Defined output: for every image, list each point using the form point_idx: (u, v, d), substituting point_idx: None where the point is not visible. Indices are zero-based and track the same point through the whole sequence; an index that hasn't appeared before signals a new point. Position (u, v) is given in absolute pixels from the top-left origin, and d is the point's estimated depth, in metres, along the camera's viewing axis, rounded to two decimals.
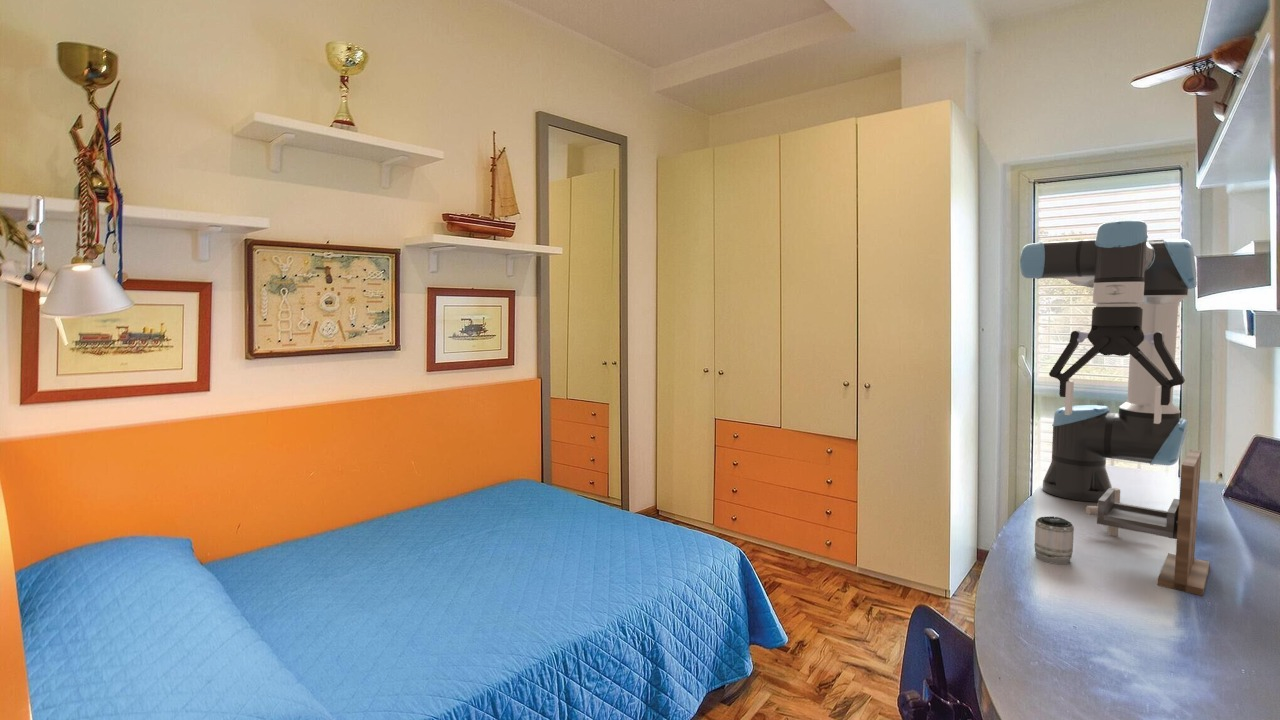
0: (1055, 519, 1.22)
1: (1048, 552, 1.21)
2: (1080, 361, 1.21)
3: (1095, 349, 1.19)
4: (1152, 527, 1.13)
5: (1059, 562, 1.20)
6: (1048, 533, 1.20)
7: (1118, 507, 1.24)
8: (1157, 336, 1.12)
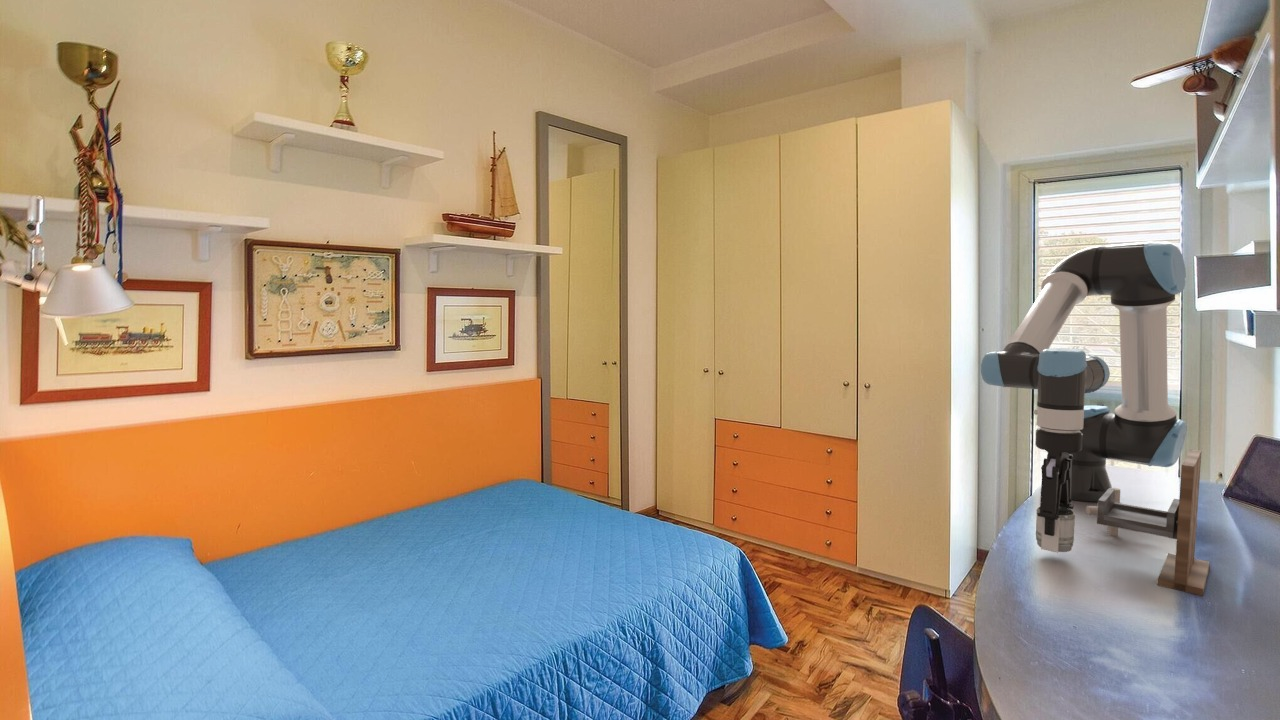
0: None
1: None
2: None
3: None
4: (1152, 527, 1.13)
5: (1060, 550, 1.20)
6: None
7: (1118, 507, 1.24)
8: None
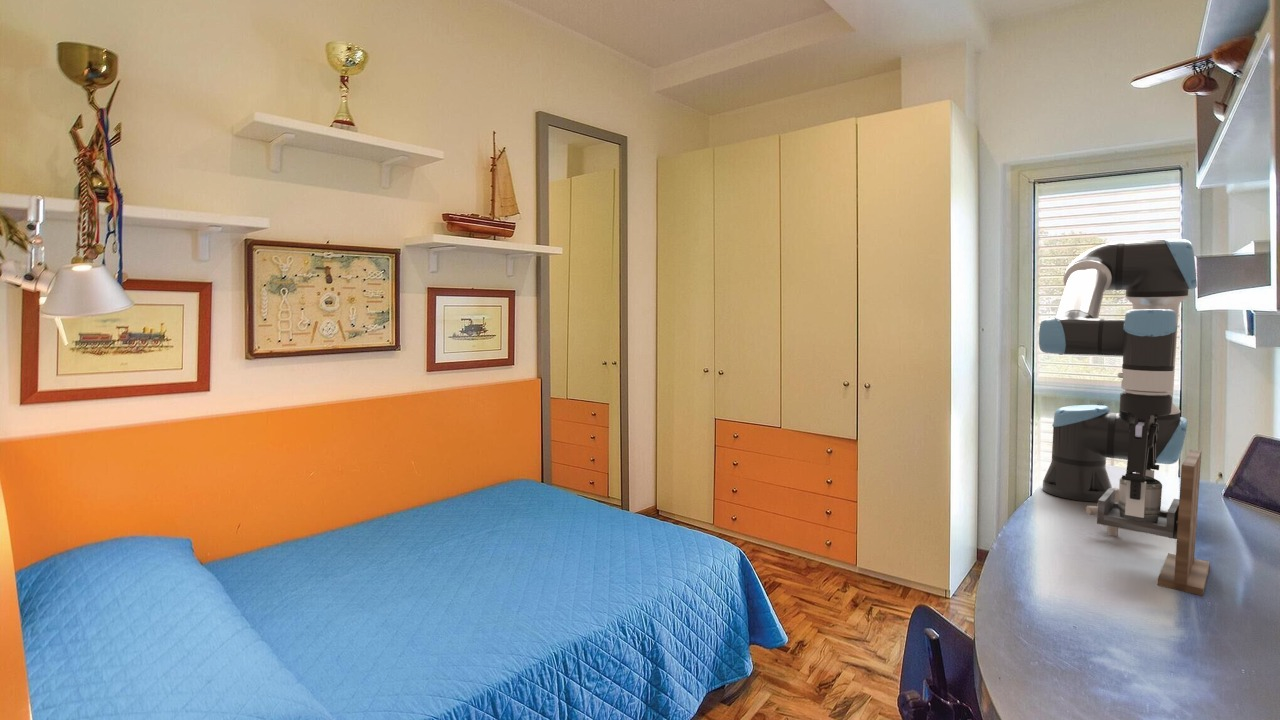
0: None
1: None
2: None
3: None
4: (1152, 527, 1.13)
5: (1147, 520, 1.16)
6: None
7: (1118, 507, 1.24)
8: (1130, 428, 1.14)
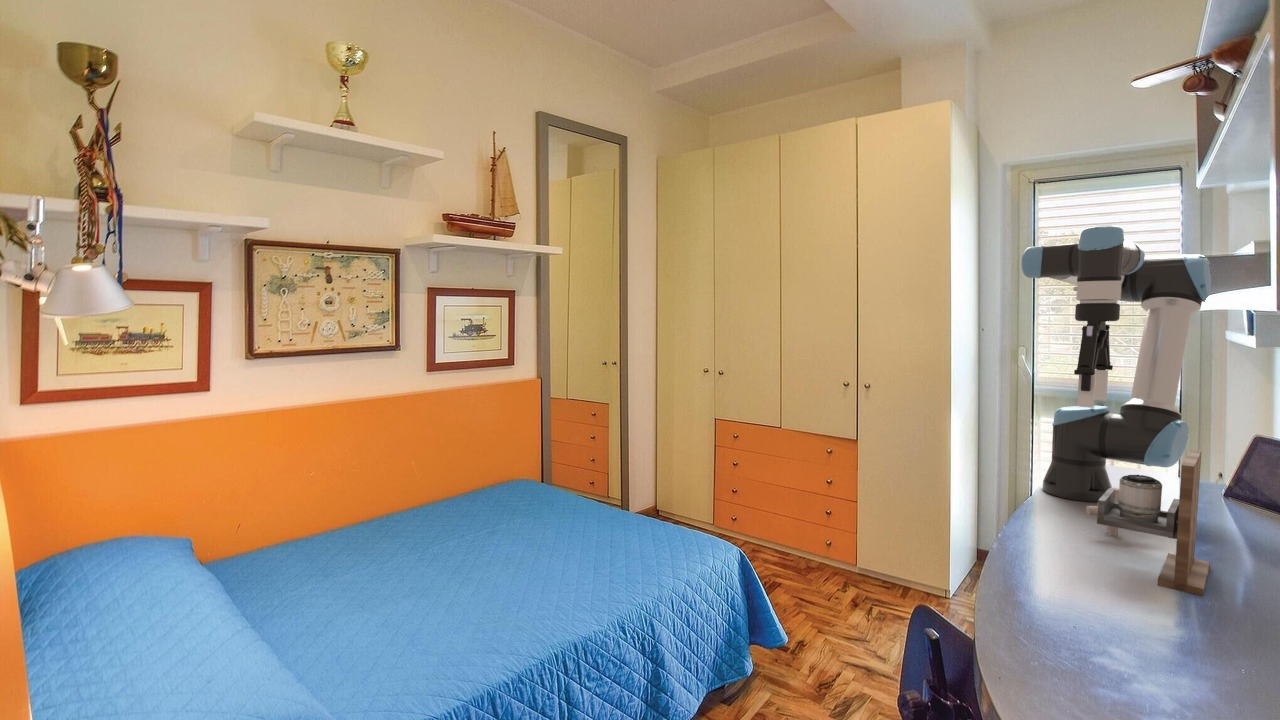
0: (1141, 477, 1.18)
1: (1135, 510, 1.16)
2: None
3: None
4: (1152, 527, 1.13)
5: (1147, 521, 1.16)
6: (1136, 491, 1.16)
7: (1118, 507, 1.24)
8: None
